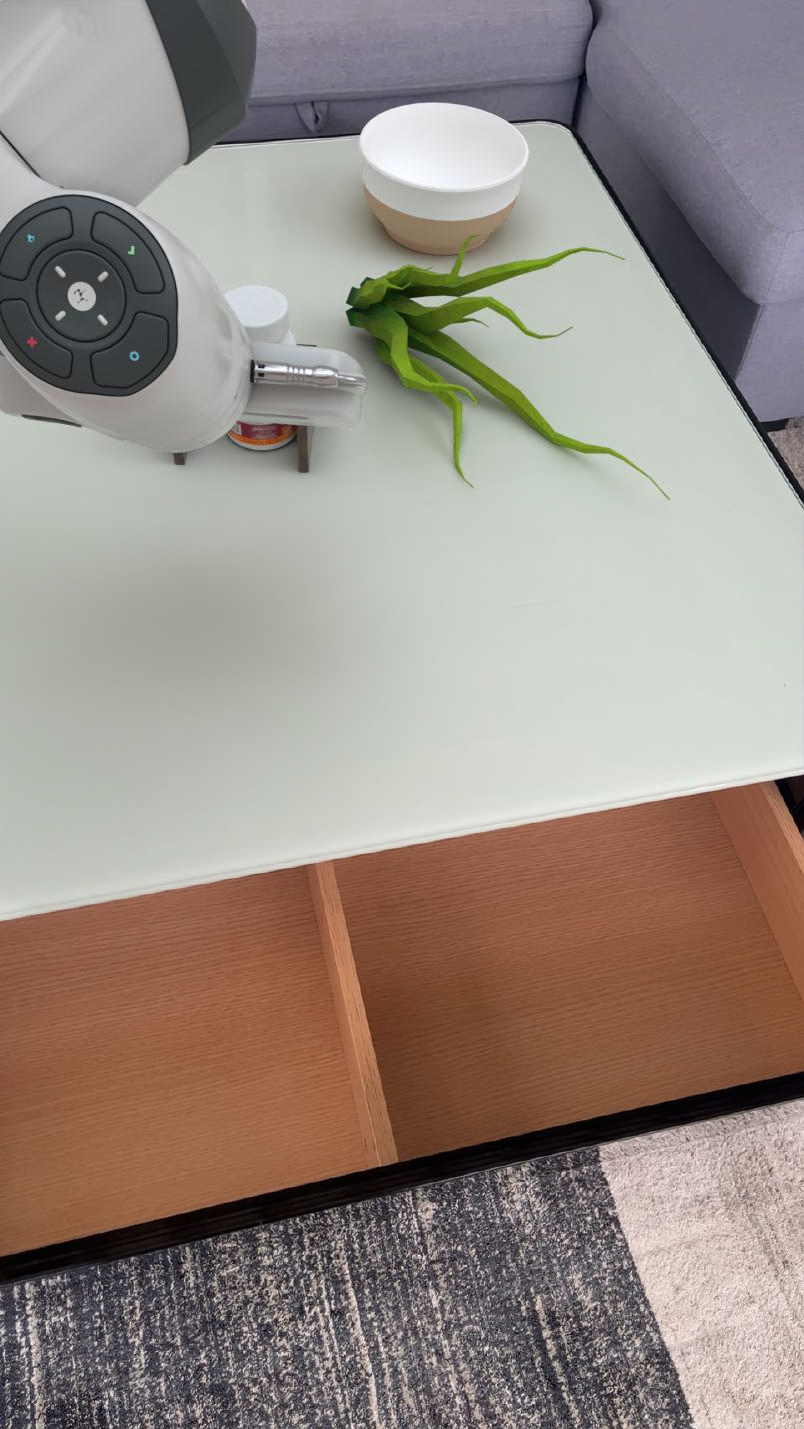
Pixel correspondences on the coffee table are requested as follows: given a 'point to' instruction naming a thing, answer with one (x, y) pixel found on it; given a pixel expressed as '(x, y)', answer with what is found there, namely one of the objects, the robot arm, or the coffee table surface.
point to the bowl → (441, 174)
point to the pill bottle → (267, 324)
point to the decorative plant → (417, 327)
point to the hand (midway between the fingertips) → (207, 396)
